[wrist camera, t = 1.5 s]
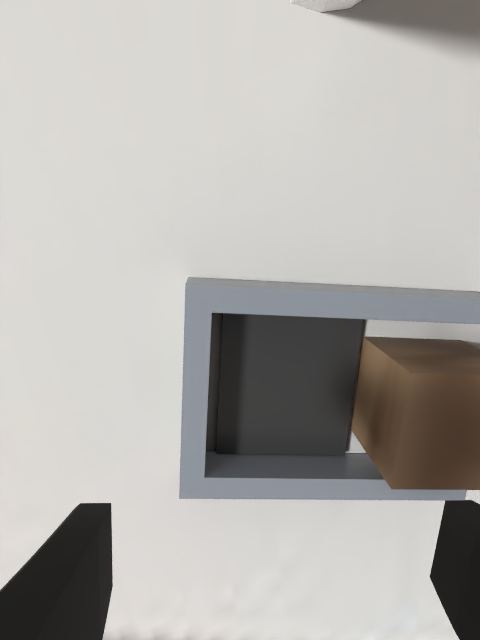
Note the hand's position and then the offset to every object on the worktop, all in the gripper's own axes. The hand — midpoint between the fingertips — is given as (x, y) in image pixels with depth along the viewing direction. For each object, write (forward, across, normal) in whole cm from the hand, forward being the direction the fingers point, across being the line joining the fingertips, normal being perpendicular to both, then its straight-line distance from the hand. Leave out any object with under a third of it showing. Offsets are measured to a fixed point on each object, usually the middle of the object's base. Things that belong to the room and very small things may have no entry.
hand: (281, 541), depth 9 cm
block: (+10, -8, 0) cm, 12 cm away
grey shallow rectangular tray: (+10, -4, 0) cm, 11 cm away
